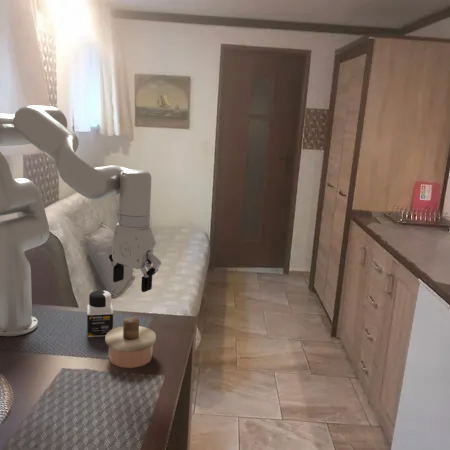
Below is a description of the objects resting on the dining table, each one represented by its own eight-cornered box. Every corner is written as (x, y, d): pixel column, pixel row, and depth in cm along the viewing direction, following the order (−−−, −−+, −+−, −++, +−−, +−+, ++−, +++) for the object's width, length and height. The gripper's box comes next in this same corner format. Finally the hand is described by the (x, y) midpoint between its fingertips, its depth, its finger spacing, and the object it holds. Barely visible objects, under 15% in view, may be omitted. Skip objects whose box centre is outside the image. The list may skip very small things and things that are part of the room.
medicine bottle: (87, 337, 135) (87, 297, 133) (87, 326, 142) (87, 288, 139) (113, 336, 137) (113, 296, 135) (111, 325, 144) (112, 287, 141)
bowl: (100, 357, 125) (100, 340, 124) (130, 342, 134) (130, 326, 133) (131, 372, 120) (131, 354, 118) (160, 355, 129) (160, 338, 127)
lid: (94, 340, 124) (94, 321, 123) (130, 324, 134) (130, 306, 133) (131, 356, 117) (132, 337, 116) (166, 338, 128) (166, 319, 126)
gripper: (98, 216, 120) (97, 280, 124) (150, 229, 111) (147, 299, 115) (119, 212, 126) (118, 273, 130) (171, 224, 117) (167, 290, 121)
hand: (132, 285), depth 122 cm, fingers open, 9 cm apart
